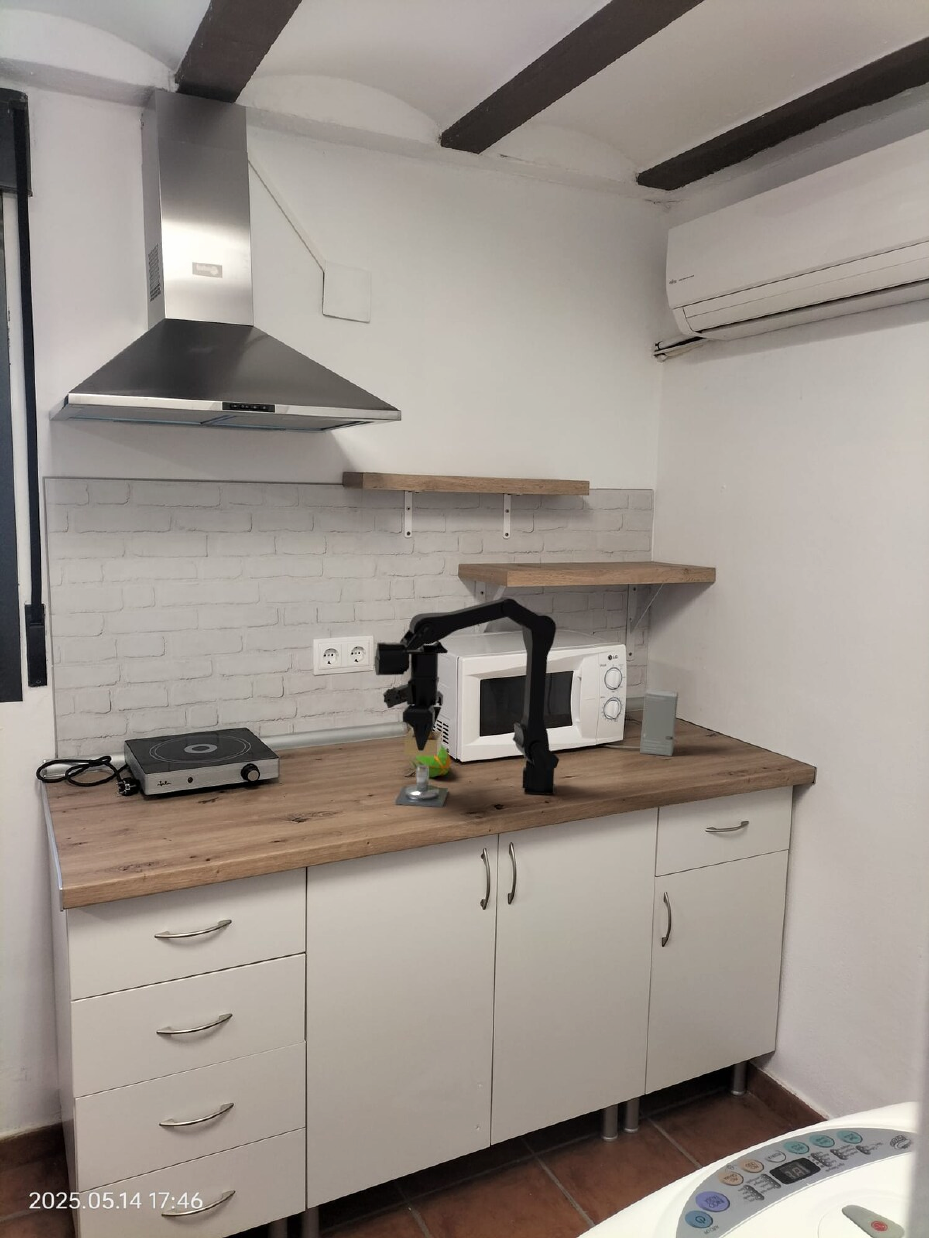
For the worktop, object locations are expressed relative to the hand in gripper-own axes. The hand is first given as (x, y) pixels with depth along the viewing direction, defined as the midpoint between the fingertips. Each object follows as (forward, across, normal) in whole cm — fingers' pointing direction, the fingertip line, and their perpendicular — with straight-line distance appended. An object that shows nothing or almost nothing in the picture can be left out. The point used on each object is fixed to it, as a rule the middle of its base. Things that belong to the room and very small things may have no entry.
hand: (423, 745), depth 195 cm
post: (+12, 0, 0) cm, 12 cm away
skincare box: (+12, -45, +55) cm, 72 cm away
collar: (+1, 0, 0) cm, 1 cm away
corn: (+12, -20, -2) cm, 24 cm away
